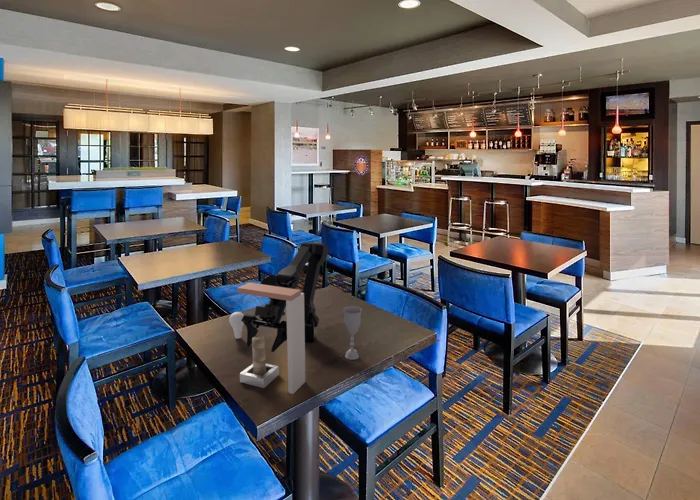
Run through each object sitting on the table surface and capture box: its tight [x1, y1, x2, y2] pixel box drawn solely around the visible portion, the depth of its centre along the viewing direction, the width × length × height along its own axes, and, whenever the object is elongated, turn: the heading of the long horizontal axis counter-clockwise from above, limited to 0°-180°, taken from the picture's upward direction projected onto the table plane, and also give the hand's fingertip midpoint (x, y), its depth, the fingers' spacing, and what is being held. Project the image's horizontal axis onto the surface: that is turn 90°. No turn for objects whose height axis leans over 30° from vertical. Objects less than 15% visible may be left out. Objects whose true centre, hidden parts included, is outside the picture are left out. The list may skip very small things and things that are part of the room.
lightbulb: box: [228, 311, 245, 340], centre depth 169 cm, size 6×6×11 cm
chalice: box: [342, 305, 363, 360], centre depth 154 cm, size 7×7×18 cm
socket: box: [239, 363, 280, 389], centre depth 140 cm, size 9×9×3 cm
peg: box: [251, 335, 267, 376], centre depth 139 cm, size 4×4×14 cm
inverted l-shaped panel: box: [237, 282, 306, 395], centre depth 135 cm, size 8×19×32 cm, turn 67°
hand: (259, 349), depth 139 cm, fingers open, 9 cm apart
